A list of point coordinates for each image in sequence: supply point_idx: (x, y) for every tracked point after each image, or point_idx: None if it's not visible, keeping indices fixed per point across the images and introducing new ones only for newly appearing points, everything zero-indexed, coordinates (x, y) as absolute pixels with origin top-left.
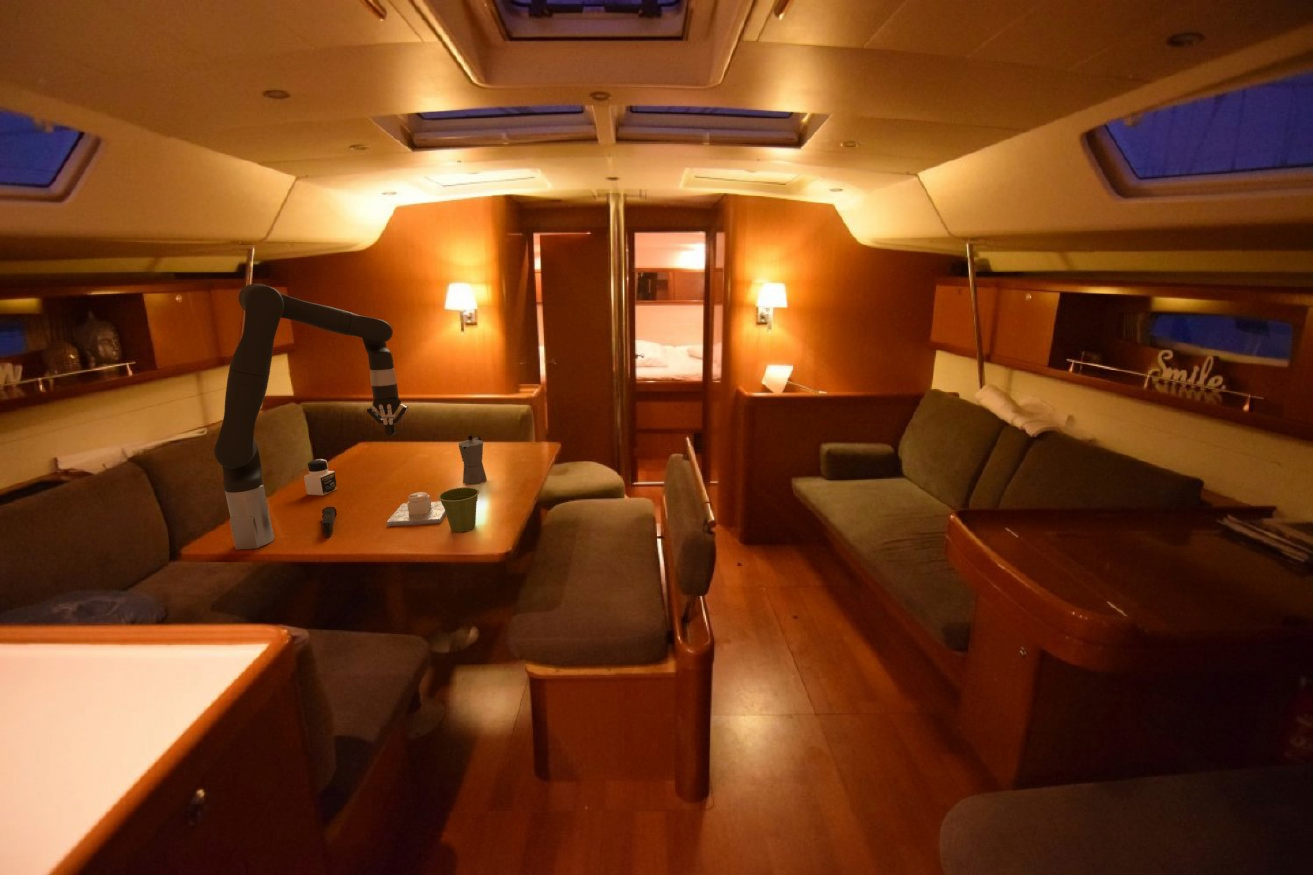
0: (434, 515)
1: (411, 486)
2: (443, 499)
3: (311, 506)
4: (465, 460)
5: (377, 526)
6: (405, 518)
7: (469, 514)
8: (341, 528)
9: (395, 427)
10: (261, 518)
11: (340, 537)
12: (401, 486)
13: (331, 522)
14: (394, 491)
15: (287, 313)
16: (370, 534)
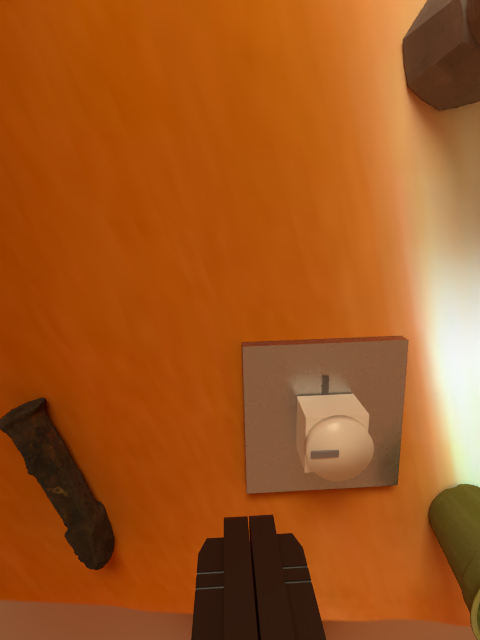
0: (377, 459)
1: (190, 93)
2: (470, 584)
3: None
4: None
5: (217, 482)
6: (295, 474)
7: None
8: (116, 487)
9: (314, 596)
10: None
11: (146, 541)
12: (144, 86)
13: (96, 533)
14: (140, 155)
15: None
16: (220, 529)
